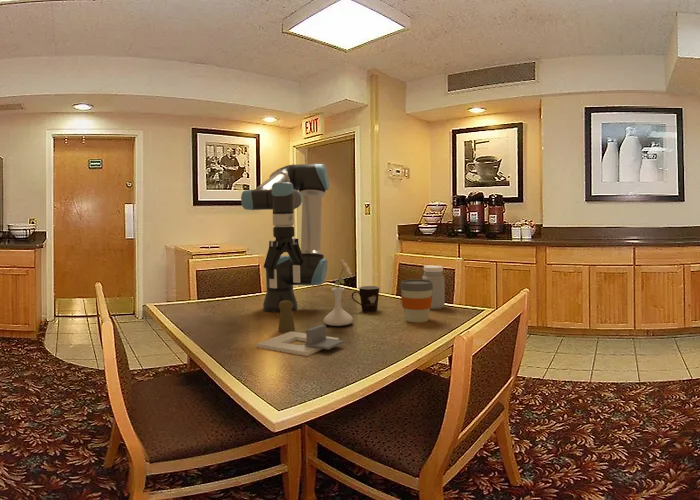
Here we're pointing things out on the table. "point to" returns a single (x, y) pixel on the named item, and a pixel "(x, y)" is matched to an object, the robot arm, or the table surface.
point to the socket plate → (282, 344)
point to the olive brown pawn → (286, 317)
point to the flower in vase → (339, 303)
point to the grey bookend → (320, 338)
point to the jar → (436, 285)
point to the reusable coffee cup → (416, 299)
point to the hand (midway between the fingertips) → (285, 285)
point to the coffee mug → (368, 298)
